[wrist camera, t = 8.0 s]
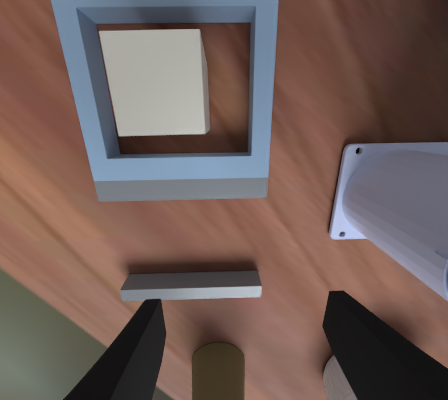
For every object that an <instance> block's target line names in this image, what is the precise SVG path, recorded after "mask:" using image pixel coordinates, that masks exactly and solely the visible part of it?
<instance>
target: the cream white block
mask: <svg viewBox="0 0 448 400" xmlns="http://www.w3.org/2000/svg"><path fill="white" fill-rule="evenodd" d="M99 35H100V40H101V45H102V51H103V56H104V61H105V66H106V72H107V77H108V82H109V87H110V93H111V98H112V103H113V108H114V114H115V119H116V124H117V129H118V135H119V136H145V135H182V134H206V133H207V132H208V131H209V130H210V111H209V89H208V67H207V62H206V57H205V52H204V47H203V42H202V38H201V33H200V29H173V30H126V31H99Z"/></svg>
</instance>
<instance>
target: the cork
mask: <svg viewBox="0 0 448 400" xmlns="http://www.w3.org/2000/svg"><path fill="white" fill-rule="evenodd" d="M244 378H245V359H244V355H243V353H242V352H241V350H240V349H238V348H237V347H236V346H233V345H231V344H228V343H210V344H208V345H205V346H202V347H201V348H200V349H198V350H197V351H196V352H195V354H194V355H193V358H192V400H244Z"/></svg>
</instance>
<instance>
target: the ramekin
mask: <svg viewBox="0 0 448 400" xmlns="http://www.w3.org/2000/svg"><path fill="white" fill-rule="evenodd" d="M323 384H324V388H325V392H326V396H327V400H357V398H356V396H355V394H354V392H353V390H352V388H351V387H350V385H349V383H348V381H347V379H346V377H345V375H344V373H343V371H342V369H341V367H340V365H339V364H338V362H337V360H336V358H335V356H334V355H333V356H332V357H331V358H330V359H329V361H328V362H327V364H326V366H325V370H324V374H323Z"/></svg>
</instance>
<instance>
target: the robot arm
mask: <svg viewBox="0 0 448 400" xmlns="http://www.w3.org/2000/svg"><path fill="white" fill-rule="evenodd" d="M357 148H359V149H360V150H359V152H358V153H357V154H356V149H357ZM341 232H343V233H342V234H341V235H339V234H340V233H341ZM329 236H330V237H331V238H332V239H369V240H370V241H371V242H372V243H374V244H375V245H376V246H378V247H379V248H380V249H381V250H383V251H384V252H385V253H387V254H388V255H389V256H390V257H392V258H393V259H394V260H396V261H397V262H398V263H399V264H401V265H402V266H403V267H404V268H406V269H407V270H408V271H410V272H411V273H412V274H413V275H415V276H416V277H417V278H419V279H420V280H421V281H422V282H424V283H425V284H426V285H428V286H429V287H430V288H431V289H433V290H434V291H435V292H436V293H438V294H439V295H440V296H442V297H443V298H444V299H445V300H447V301H448V142H420V143H365V144H348V145H347V146H346V147H345V148H344V150H343V155H342V161H341V167H340V172H339V178H338V183H337V189H336V195H335V200H334V206H333V212H332V217H331V223H330V228H329ZM323 329H324V332H325V334H326V337H327V339H328V342H329V344H330V347H331V349H332V352H333V354H334V356H335V358H336V360H337V362H338V364H339V365H340V367H341V369H342V371H343V373H344V375H345V377H346V379H347V381H348V383H349V385H350V387H351V388H352V390H353V392H354V394H355V396H356V398H357V400H448V368H446V367H445V366H443V365H442V364H440V363H439V362H438V361H436V360H435V359H433V358H432V357H430V356H429V355H428V354H426V353H425V352H423V351H422V350H421V349H419V348H418V347H416V346H415V345H414V344H412V343H411V342H410V341H408V340H407V339H406V338H404V337H403V336H402V335H400V334H399V333H398V332H396V331H395V330H394V329H392V328H391V327H390V326H388V325H387V324H386V323H385V322H383V321H382V320H381V319H379V318H378V317H377V316H376V315H374V314H373V313H372V312H370V311H369V310H368V309H367V308H365V307H364V306H363V305H361V304H360V303H359V302H358V301H356V300H355V299H354V298H352V297H351V296H350V295H349V294H347V293H346V292H344V291H329V296H328V301H327V306H326V311H325V316H324V321H323ZM165 338H166V329H165V323H164V316H163V309H162V303H161V299H146V300H145V301H144V302H143V303H142V305H141V306H140V307H139V309H138V310H137V311H136V313H135V314H134V316H133V317H132V318H131V320H130V321H129V322H128V323H127V325H126V326H125V327H124V329H123V330H122V331H121V333H120V334H119V335H118V336H117V338H116V339H115V340H114V341H113V343H112V344H111V345H110V346H109V348H108V349H107V350H106V351H105V353H104V354H103V355H102V356H101V357H100V358H99V360H98V361H97V362H96V363H95V364H94V365H93V367H92V368H91V369H90V370H89V371H88V372H87V374H86V375H85V376H84V377H83V378H82V380H81V381H80V382H79V383H78V384H77V385H76V386H75V387H74V388H73V390H72V391H71V392H70V393H69V394H68V395H67V396H66V397H65V398H64V399H63V400H152V396H153V393H154V389H155V386H156V382H157V378H158V374H159V370H160V366H161V362H162V357H163V351H164V345H165Z"/></svg>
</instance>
